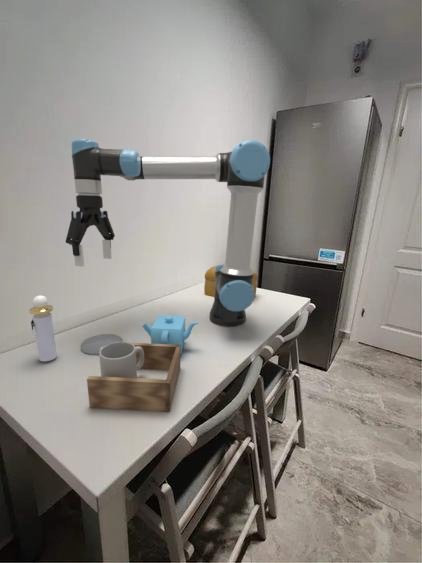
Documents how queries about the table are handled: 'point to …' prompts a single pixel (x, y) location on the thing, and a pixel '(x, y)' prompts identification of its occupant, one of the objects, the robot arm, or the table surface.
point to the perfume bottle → (43, 328)
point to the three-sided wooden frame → (139, 383)
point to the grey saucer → (98, 343)
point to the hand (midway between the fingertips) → (94, 262)
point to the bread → (210, 282)
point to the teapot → (169, 330)
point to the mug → (120, 360)
